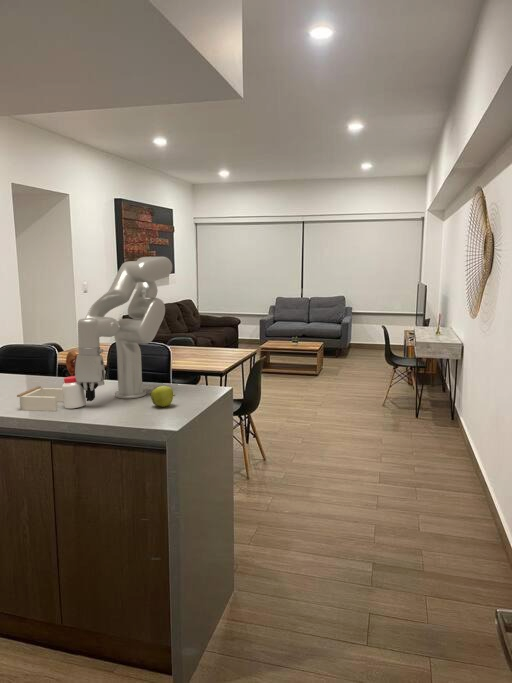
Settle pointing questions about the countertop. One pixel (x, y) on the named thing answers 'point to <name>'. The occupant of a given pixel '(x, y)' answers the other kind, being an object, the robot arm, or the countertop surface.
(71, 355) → the mug
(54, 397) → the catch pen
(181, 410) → the countertop surface
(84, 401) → the pill bottle
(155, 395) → the apple
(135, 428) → the countertop surface
